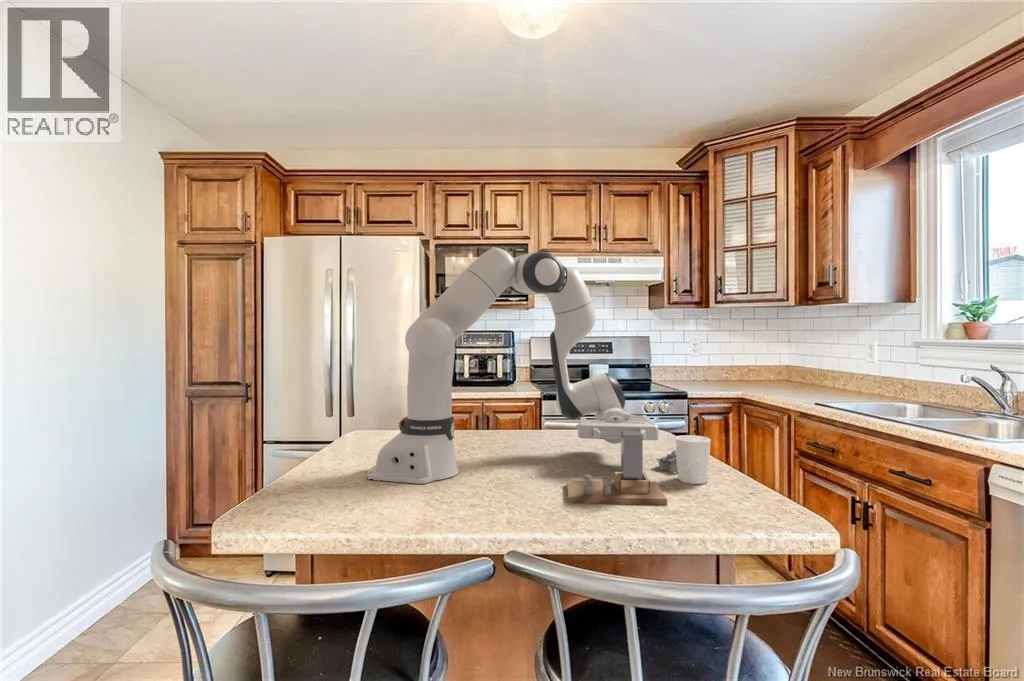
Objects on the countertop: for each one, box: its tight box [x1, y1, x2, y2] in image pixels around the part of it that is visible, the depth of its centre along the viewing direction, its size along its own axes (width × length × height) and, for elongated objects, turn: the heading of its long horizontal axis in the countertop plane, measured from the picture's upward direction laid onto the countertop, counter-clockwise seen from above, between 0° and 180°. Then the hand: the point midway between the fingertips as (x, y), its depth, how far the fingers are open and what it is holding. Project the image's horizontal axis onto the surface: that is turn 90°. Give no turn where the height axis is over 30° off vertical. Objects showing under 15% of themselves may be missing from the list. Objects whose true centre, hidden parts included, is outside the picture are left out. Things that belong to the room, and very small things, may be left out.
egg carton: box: [655, 449, 678, 474], centre depth 132 cm, size 11×8×4 cm
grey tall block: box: [620, 431, 644, 480], centre depth 111 cm, size 4×4×12 cm
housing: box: [566, 471, 668, 506], centre depth 110 cm, size 20×12×5 cm, turn 86°
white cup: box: [674, 434, 711, 485], centre depth 121 cm, size 8×8×10 cm
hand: (621, 436), depth 123 cm, fingers open, 8 cm apart
